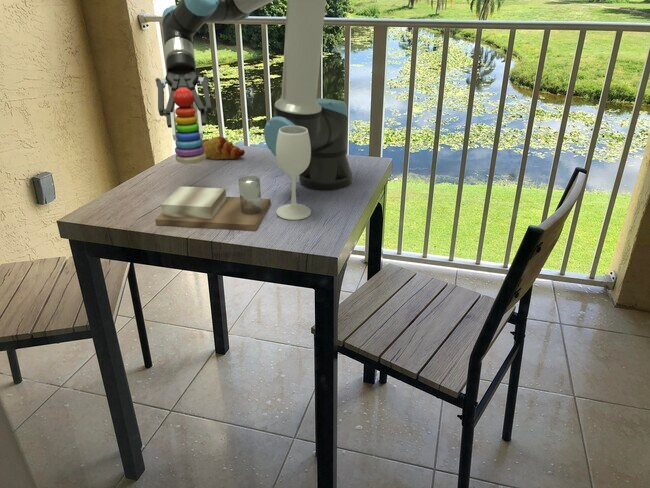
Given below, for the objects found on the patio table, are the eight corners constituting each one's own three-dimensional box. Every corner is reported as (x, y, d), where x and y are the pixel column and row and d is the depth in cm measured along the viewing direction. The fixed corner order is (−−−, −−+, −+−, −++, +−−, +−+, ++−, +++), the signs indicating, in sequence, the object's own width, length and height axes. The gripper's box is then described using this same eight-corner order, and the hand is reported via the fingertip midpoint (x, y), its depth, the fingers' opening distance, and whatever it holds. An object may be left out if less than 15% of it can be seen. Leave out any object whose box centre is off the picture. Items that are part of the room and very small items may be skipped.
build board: (270, 204, 132) (269, 187, 130) (255, 230, 118) (254, 213, 116) (181, 199, 134) (179, 183, 132) (156, 225, 120) (153, 207, 118)
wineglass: (288, 202, 132) (287, 122, 122) (317, 209, 128) (319, 128, 118) (269, 215, 125) (266, 131, 115) (299, 223, 122) (299, 137, 111)
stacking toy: (199, 165, 132) (188, 91, 123) (170, 164, 133) (158, 90, 125) (211, 156, 138) (202, 85, 130) (184, 155, 140) (173, 85, 131)
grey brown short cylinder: (263, 207, 126) (261, 176, 123) (258, 215, 122) (257, 183, 118) (243, 206, 127) (241, 175, 123) (238, 214, 123) (235, 182, 119)
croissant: (186, 164, 171) (176, 146, 165) (200, 143, 177) (191, 125, 170) (241, 171, 164) (233, 153, 158) (254, 149, 169) (246, 131, 163)
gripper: (217, 68, 142) (226, 141, 135) (145, 71, 138) (151, 146, 131) (215, 49, 135) (225, 126, 128) (140, 52, 131) (146, 131, 124)
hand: (188, 136), depth 129 cm, fingers closed on stacking toy, 6 cm apart
